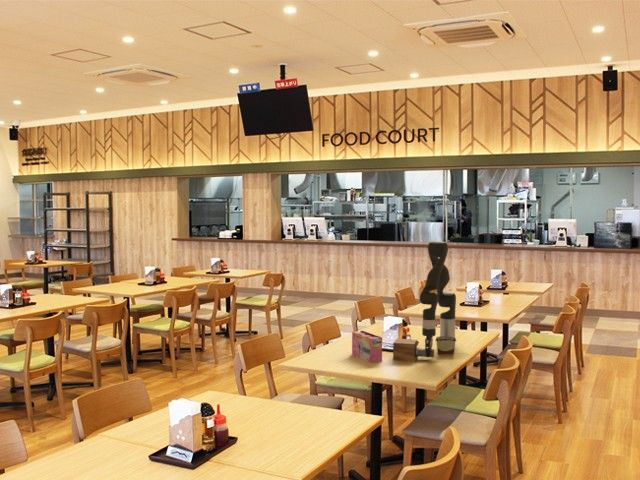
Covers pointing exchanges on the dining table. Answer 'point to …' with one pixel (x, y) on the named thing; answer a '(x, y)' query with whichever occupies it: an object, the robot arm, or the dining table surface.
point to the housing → (404, 349)
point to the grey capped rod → (423, 352)
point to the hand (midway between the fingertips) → (428, 355)
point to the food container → (445, 345)
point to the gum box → (367, 346)
